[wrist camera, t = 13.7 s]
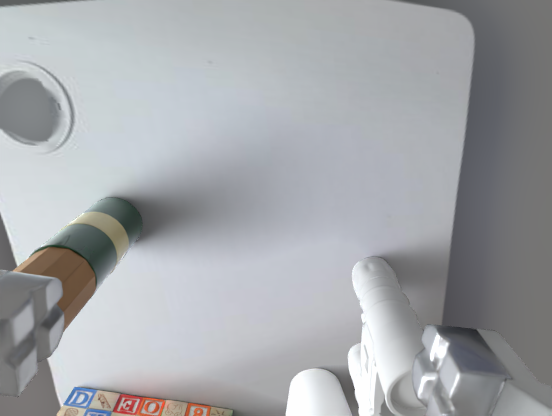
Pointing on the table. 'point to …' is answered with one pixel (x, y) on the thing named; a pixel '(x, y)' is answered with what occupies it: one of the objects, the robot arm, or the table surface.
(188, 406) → the stack of blocks
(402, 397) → the binoculars
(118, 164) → the table surface
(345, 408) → the cup
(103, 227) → the bottle
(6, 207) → the table surface
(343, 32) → the table surface
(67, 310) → the brown cylinder
